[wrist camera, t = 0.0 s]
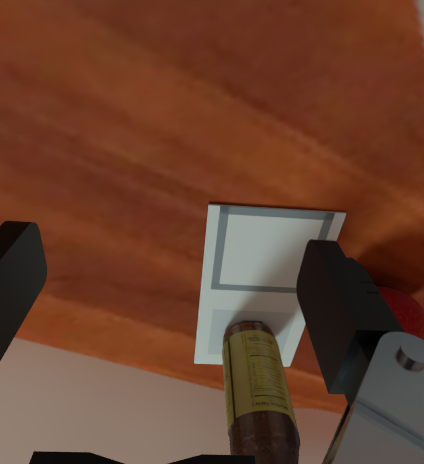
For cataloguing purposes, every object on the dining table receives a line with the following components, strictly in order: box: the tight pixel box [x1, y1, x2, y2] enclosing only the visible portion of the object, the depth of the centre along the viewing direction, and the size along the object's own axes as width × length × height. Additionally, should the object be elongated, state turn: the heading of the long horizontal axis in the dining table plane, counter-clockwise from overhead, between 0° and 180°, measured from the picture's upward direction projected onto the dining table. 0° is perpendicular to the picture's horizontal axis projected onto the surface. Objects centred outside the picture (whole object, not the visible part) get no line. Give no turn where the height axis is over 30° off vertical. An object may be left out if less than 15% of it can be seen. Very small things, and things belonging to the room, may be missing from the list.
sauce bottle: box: [222, 321, 300, 464], centre depth 32 cm, size 6×6×20 cm
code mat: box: [194, 204, 346, 367], centre depth 37 cm, size 23×12×1 cm, turn 175°
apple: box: [377, 286, 424, 340], centre depth 34 cm, size 8×8×8 cm
